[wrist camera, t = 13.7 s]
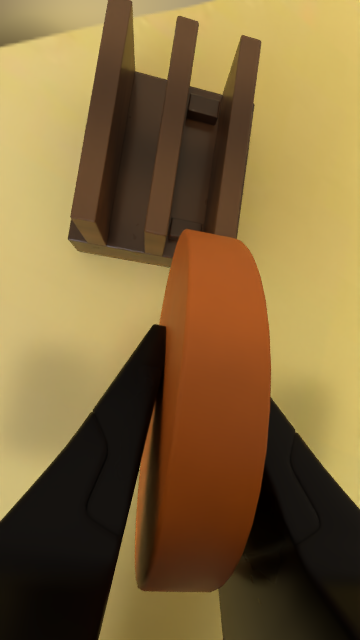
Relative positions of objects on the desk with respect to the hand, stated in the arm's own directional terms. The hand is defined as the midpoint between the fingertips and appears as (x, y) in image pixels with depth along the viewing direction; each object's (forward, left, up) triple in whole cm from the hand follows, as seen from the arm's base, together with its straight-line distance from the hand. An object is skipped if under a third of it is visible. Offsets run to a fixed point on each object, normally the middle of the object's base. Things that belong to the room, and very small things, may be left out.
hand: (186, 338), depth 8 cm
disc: (-1, +1, -5) cm, 5 cm away
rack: (+7, -7, -8) cm, 12 cm away
